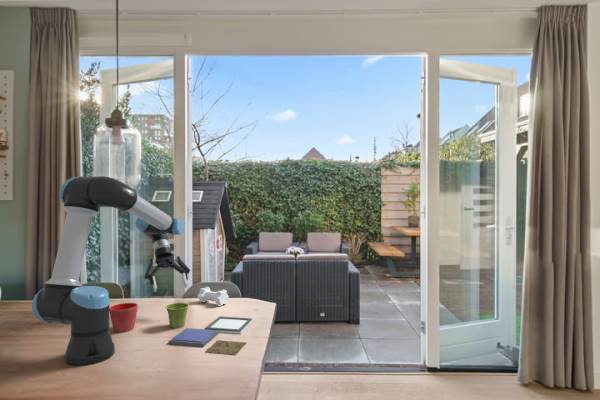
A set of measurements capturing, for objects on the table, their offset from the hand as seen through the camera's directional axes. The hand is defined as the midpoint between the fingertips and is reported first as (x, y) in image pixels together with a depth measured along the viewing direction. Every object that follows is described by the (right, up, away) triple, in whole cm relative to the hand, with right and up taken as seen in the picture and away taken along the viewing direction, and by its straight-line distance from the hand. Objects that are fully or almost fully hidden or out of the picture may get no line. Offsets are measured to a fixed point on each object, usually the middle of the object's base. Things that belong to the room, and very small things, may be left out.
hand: (171, 288), depth 170 cm
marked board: (+28, -14, -9) cm, 33 cm away
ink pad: (+17, -14, -23) cm, 32 cm away
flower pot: (-16, -14, -13) cm, 25 cm away
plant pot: (+6, -14, -8) cm, 18 cm away
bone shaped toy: (+13, -14, +25) cm, 32 cm away
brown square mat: (+31, -15, -32) cm, 47 cm away
